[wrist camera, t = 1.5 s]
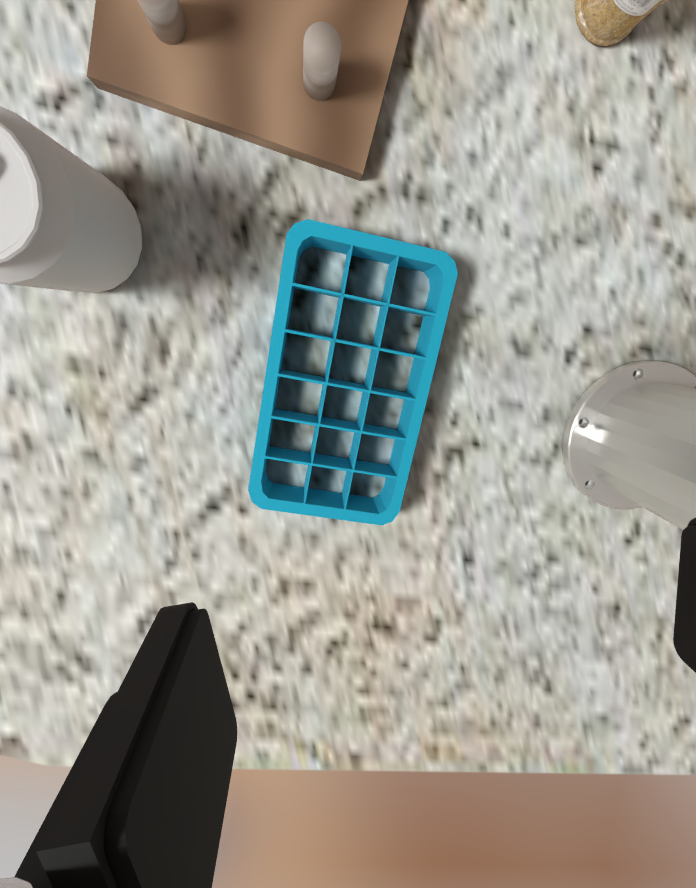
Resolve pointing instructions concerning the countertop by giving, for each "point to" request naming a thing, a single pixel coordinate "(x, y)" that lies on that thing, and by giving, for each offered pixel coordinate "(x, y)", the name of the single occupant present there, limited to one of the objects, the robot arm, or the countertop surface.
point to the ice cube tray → (415, 398)
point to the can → (60, 216)
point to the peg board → (256, 68)
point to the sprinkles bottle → (611, 18)
